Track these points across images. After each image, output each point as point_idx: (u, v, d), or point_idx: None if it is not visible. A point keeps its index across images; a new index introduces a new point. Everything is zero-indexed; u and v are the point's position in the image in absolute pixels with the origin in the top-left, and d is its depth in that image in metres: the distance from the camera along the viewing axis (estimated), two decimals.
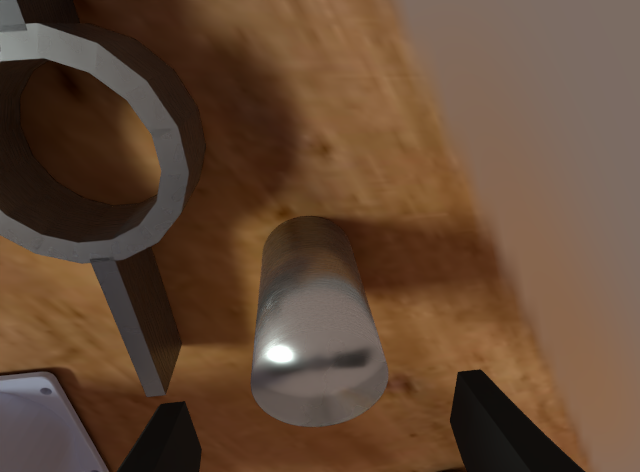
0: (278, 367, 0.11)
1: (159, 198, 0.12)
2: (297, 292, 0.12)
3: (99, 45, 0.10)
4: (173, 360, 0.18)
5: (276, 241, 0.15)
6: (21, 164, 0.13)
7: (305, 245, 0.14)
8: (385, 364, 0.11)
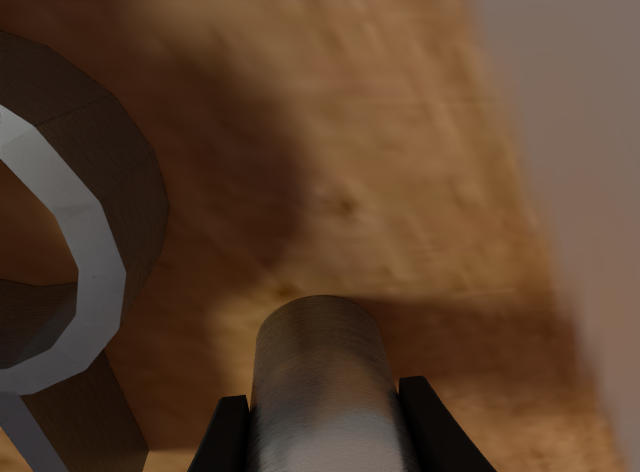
0: None
1: (81, 307, 0.07)
2: None
3: None
4: None
5: (275, 339, 0.11)
6: None
7: (319, 359, 0.09)
8: None
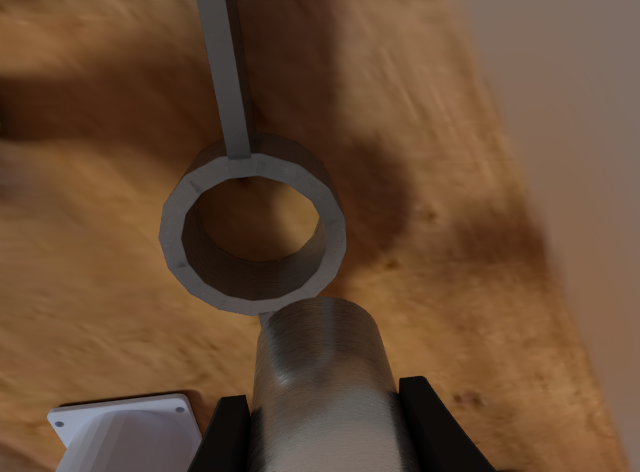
0: None
1: (319, 267, 0.16)
2: None
3: (297, 164, 0.14)
4: None
5: (273, 342, 0.11)
6: (199, 237, 0.17)
7: (316, 361, 0.09)
8: None
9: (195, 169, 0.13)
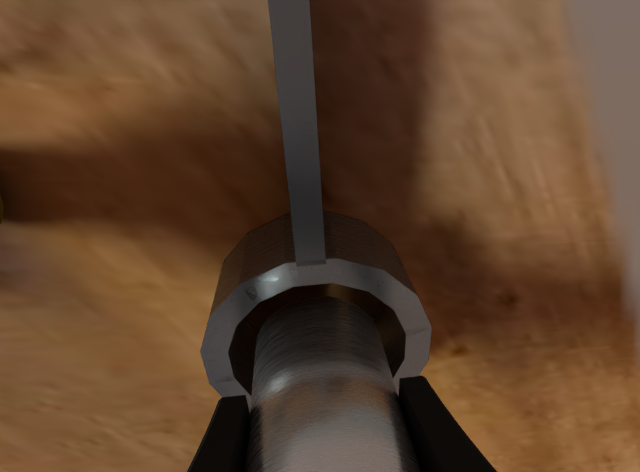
0: None
1: None
2: None
3: (381, 268, 0.11)
4: None
5: (272, 342, 0.11)
6: (242, 330, 0.14)
7: (314, 360, 0.09)
8: None
9: (253, 276, 0.11)
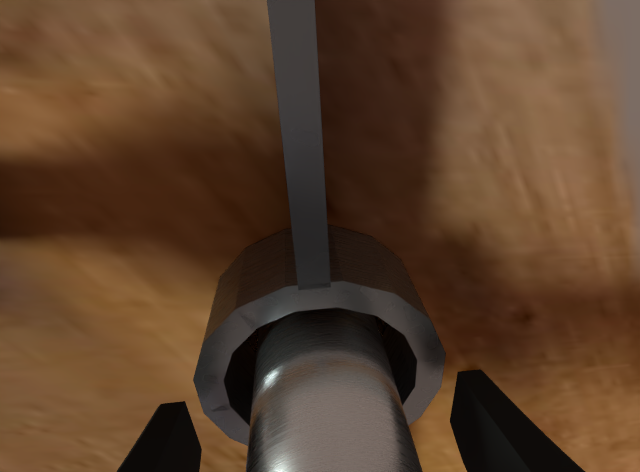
0: None
1: None
2: (301, 409, 0.08)
3: (391, 291, 0.10)
4: None
5: None
6: (239, 352, 0.13)
7: (312, 320, 0.11)
8: None
9: (250, 299, 0.10)
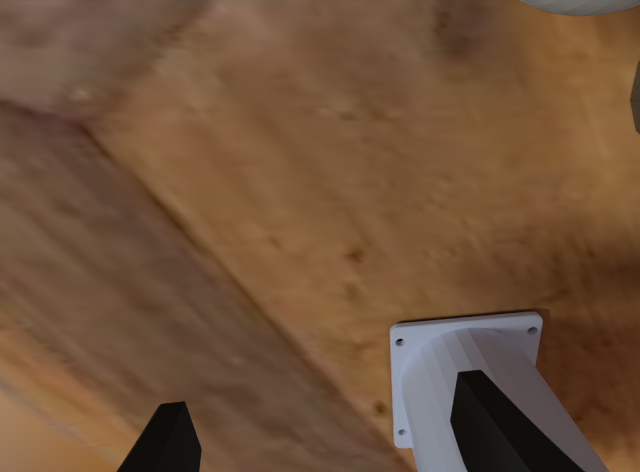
0: None
1: None
2: None
3: None
4: None
5: None
6: None
7: None
8: None
9: None
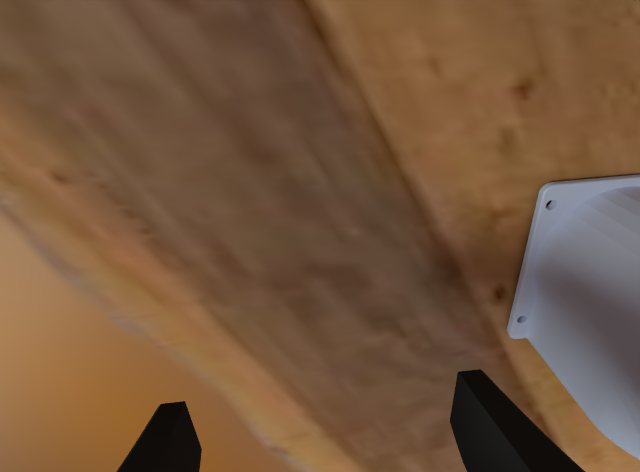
0: None
1: None
2: None
3: None
4: None
5: None
6: None
7: None
8: None
9: None
